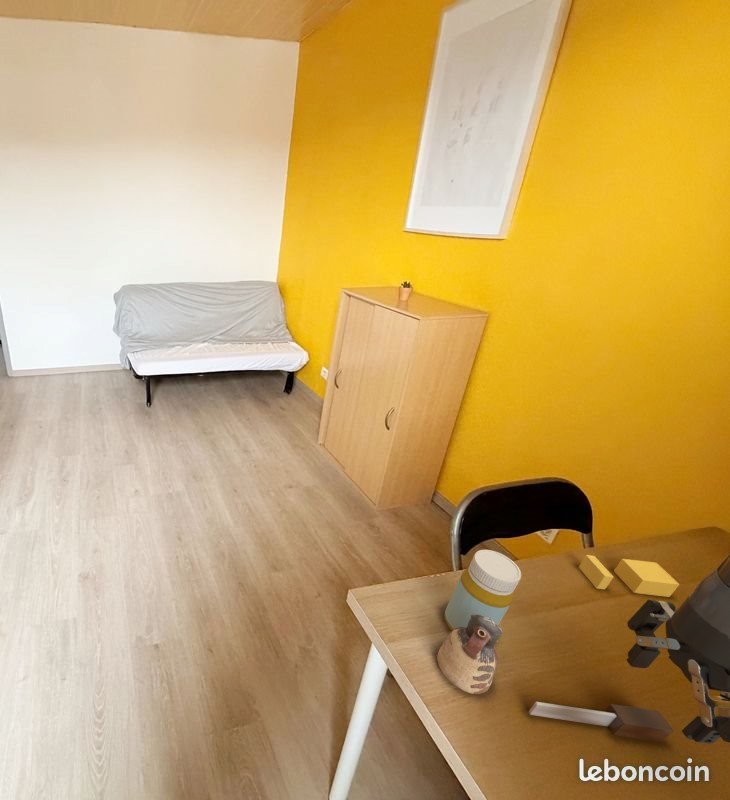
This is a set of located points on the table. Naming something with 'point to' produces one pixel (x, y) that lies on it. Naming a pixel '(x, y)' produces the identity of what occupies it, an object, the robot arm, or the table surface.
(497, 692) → the table surface
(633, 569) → the butter block
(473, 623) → the figurine
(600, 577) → the butter slice
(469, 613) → the bottle
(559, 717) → the knife
